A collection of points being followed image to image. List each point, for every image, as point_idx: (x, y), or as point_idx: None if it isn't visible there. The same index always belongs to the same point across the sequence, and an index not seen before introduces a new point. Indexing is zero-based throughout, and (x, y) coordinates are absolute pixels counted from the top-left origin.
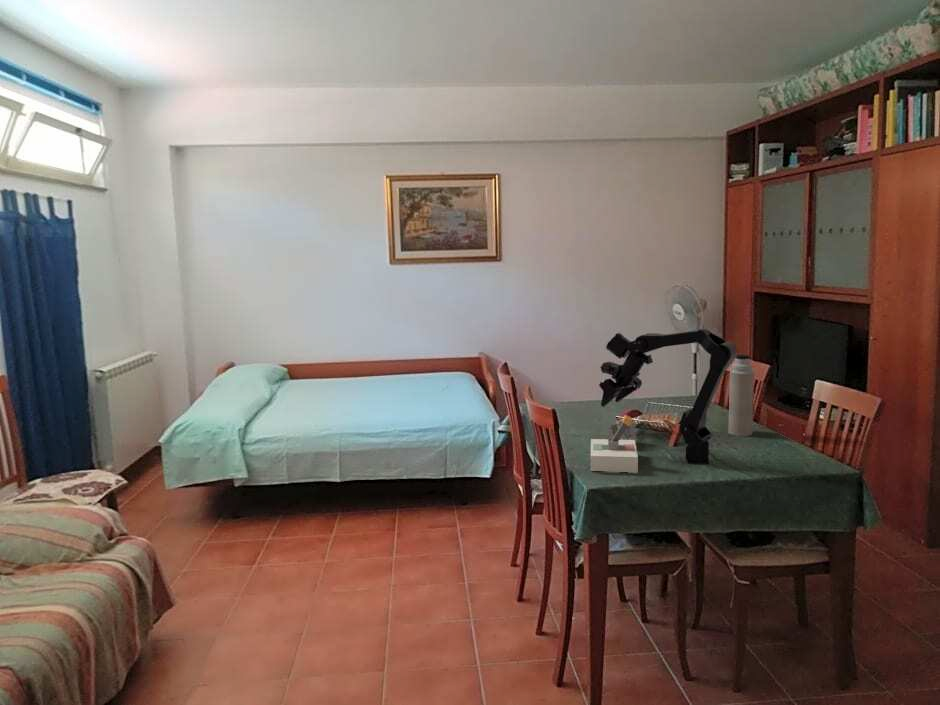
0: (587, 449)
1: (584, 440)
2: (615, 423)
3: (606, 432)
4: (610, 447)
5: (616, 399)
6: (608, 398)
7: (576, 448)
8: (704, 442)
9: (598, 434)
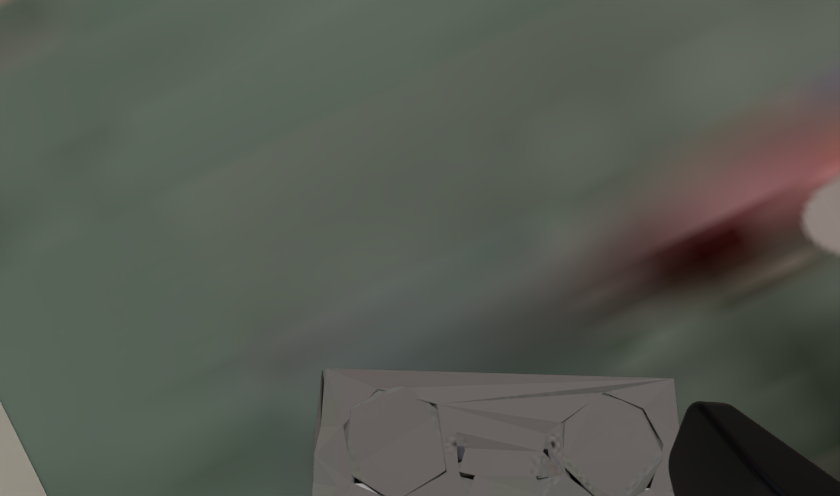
0: (79, 180)
1: (376, 3)
2: (408, 417)
3: (772, 81)
4: None
5: (706, 465)
6: None
7: (52, 58)
8: None
9: (660, 38)
